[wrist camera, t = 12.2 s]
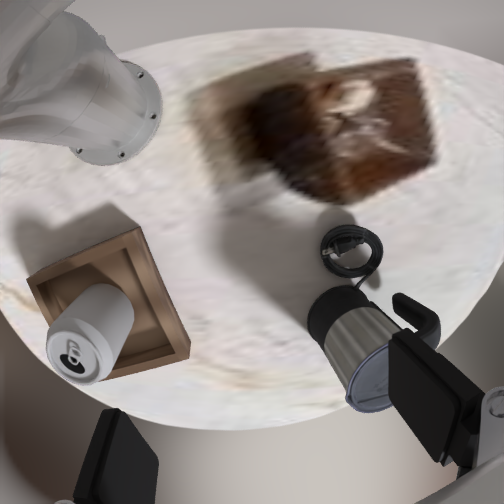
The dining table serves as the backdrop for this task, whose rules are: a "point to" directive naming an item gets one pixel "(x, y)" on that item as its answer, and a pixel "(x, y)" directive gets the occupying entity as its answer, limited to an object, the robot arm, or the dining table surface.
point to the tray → (133, 286)
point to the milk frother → (362, 323)
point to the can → (90, 334)
